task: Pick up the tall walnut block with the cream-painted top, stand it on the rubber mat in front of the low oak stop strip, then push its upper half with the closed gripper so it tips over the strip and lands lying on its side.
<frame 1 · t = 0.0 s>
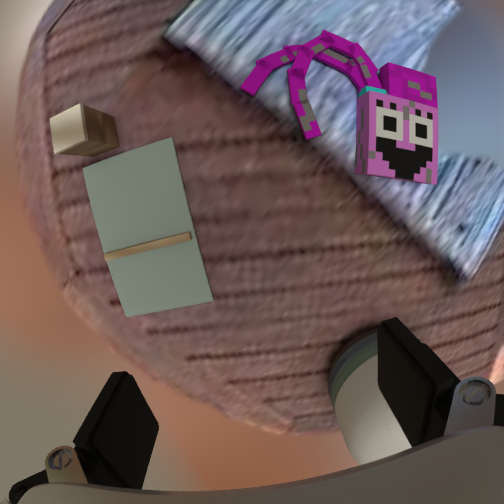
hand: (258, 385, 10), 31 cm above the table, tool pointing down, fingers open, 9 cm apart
vase: (368, 360, 46), on the table
toy: (338, 102, 37), on the table
stop strip: (147, 245, 40), resting on mat
mat: (145, 232, 40), on the table
walnut block: (103, 136, 37), on the table
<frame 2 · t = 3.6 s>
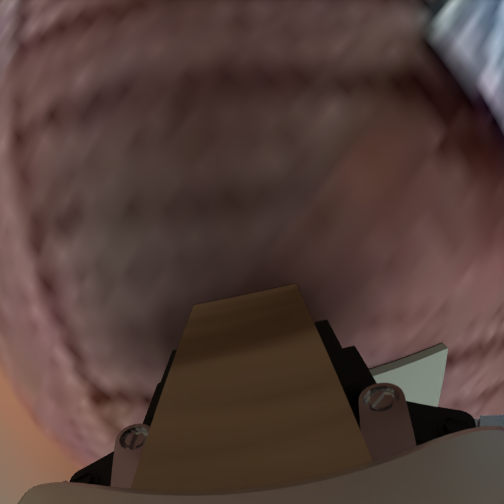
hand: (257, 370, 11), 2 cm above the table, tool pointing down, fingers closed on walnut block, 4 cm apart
mat: (336, 484, 17), on the table
walnut block: (255, 339, 13), on the table, touching gripper
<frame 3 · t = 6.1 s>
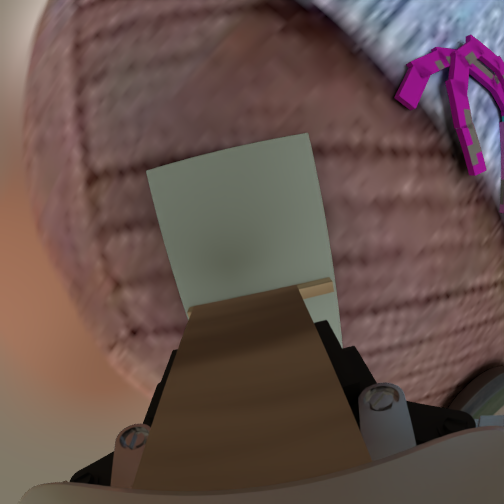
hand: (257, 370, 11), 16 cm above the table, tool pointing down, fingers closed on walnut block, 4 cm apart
vase: (471, 399, 34), on the table
toy: (483, 125, 24), on the table
stop strip: (259, 298, 27), resting on mat
mat: (255, 277, 27), on the table
walnut block: (255, 340, 13), point 14 cm above the table, touching gripper
when the fingers open (4 cm above the table, at t = 8.5 s): walnut block drops 1 cm, resting on mat.
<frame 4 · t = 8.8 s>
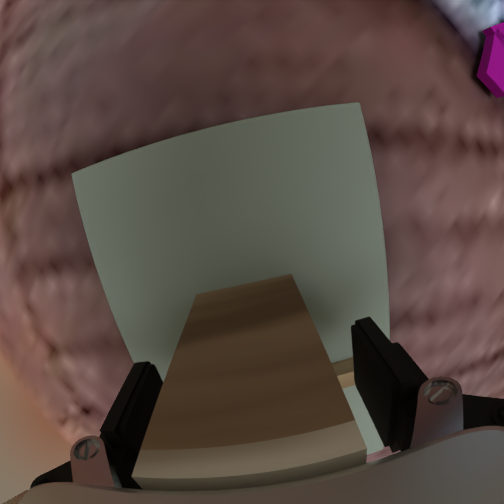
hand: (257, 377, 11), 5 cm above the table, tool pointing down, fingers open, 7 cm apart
stop strip: (269, 384, 15), resting on mat
mat: (262, 353, 16), on the table
walnut block: (254, 326, 14), point 1 cm above the table, touching mat
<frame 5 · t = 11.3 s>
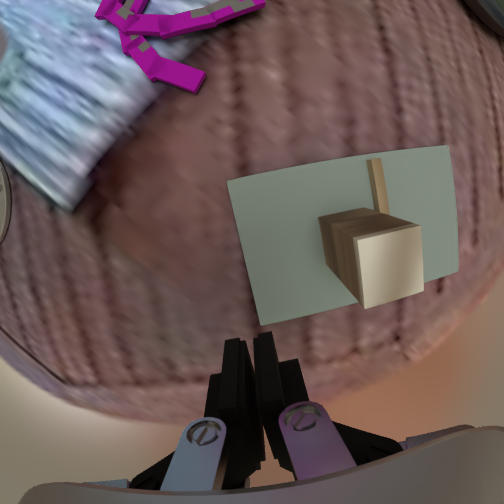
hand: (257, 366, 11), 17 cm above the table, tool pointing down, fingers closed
stop strip: (381, 227, 27), resting on mat
mat: (362, 229, 28), on the table
walnut block: (345, 235, 27), point 1 cm above the table, touching mat
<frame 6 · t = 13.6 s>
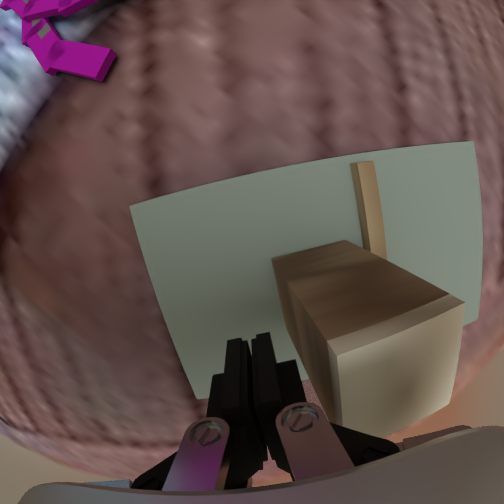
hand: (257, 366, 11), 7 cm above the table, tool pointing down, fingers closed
stop strip: (373, 269, 18), resting on mat
mat: (344, 272, 18), on the table
walnut block: (315, 285, 18), point 1 cm above the table, touching mat
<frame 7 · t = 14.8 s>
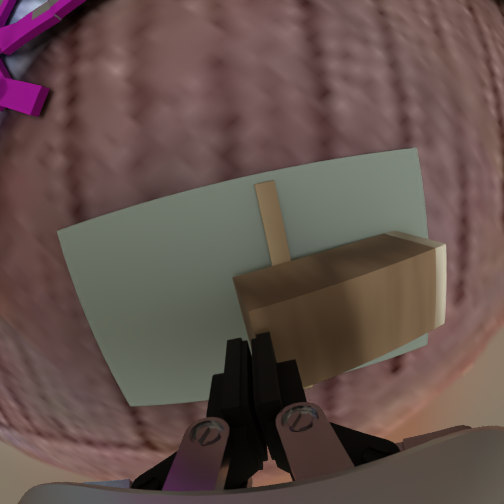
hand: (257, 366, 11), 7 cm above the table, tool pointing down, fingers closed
stop strip: (286, 293, 18), resting on mat
mat: (256, 295, 18), on the table
walnut block: (250, 335, 14), point 5 cm above the table, tilted 100°, touching mat, stop strip
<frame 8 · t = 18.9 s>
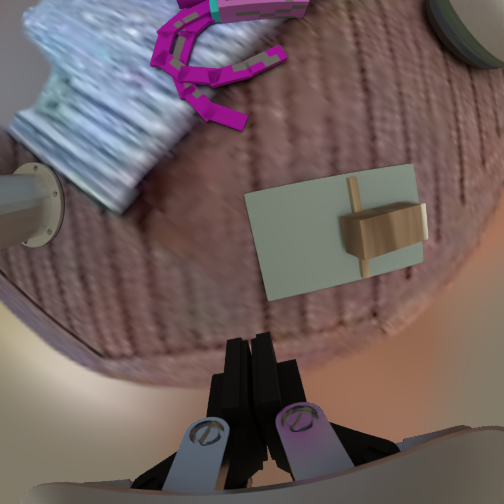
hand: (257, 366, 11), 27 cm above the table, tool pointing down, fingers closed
vase: (456, 30, 30), on the table
toy: (230, 39, 32), on the table
stop strip: (358, 227, 37), resting on mat
mat: (344, 229, 38), on the table
walnut block: (352, 237, 33), point 5 cm above the table, tilted 100°, touching mat, stop strip
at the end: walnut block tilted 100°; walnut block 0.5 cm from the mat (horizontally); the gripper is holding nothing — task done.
